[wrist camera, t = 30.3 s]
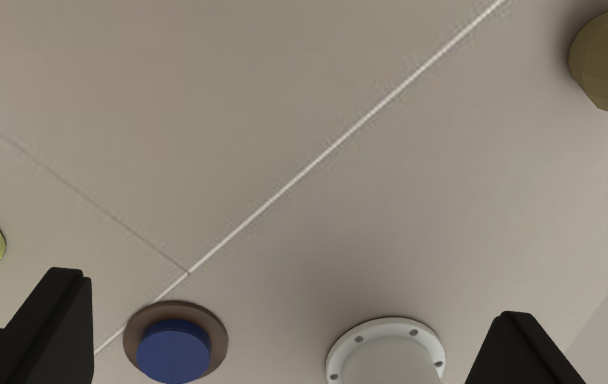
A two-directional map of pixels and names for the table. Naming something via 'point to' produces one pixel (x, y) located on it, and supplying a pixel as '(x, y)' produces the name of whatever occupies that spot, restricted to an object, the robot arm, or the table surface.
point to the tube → (2, 246)
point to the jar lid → (174, 351)
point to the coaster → (182, 313)
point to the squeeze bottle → (592, 60)
